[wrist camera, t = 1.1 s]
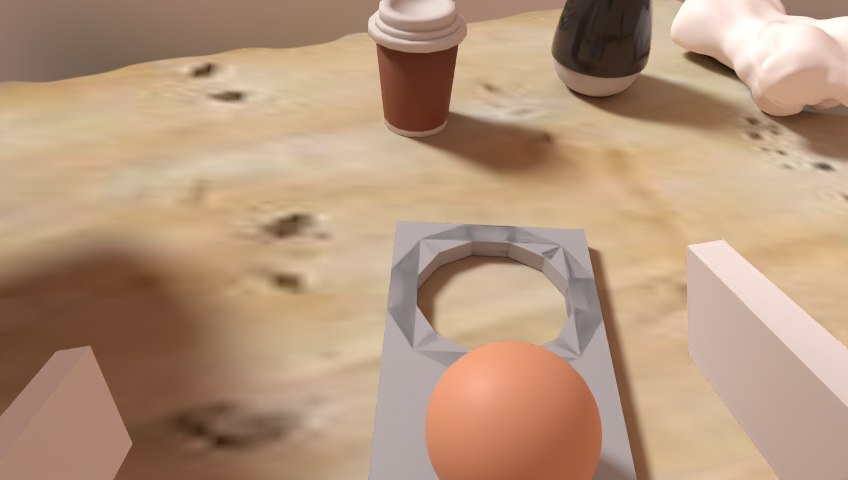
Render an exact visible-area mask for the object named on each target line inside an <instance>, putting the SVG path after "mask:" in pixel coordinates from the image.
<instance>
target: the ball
mask: <svg viewBox="0 0 848 480" xmlns="http://www.w3.org/2000/svg"><path fill="white" fill-rule="evenodd" d="M425 439H426V446H427V451H428V455H429V458H430V461H431V464H432V467H433V469H434V471H435V473H436V475H437V477H438V478H439V480H591V479H592V477H593V475H594V473H595V470H596V468H597V465H598V462H599V458H600V453H601V448H602V425H601V418H600V414H599V410H598V406H597V403H596V401H595V399H594V396H593V394H592V392H591V390H590V389H589V387H588V385H587V383H586V382H585V380H584V379H583V378H582V376H581V375H580V374H579V373H578V372H577V371H576V370H575V369H574V368H573V367H572V366H571V365H570V364H569V363H568V362H567V361H565V360H564V359H563V358H561V357H560V356H558V355H557V354H555V353H553V352H551V351H550V350H548V349H545V348H543V347H540V346H537V345H534V344H530V343H525V342H517V341H503V342H495V343H491V344H487V345H484V346H481V347H478V348H476V349H474V350H472V351H470V352H468V353H466V354H465V355H463V356H462V357H460V358H459V359H458V360H457V361H456V362H454V363H453V364H452V365H451V366H450V367H449V368H448V369H447V370H446V372H445V373H444V374H443V376H442V377H441V378H440V380H439V381H438V383H437V385H436V386H435V389H434V391H433V393H432V395H431V398H430V400H429V404H428V408H427V413H426V420H425Z"/></svg>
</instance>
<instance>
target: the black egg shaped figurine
mask: <svg viewBox="0 0 848 480" xmlns="http://www.w3.org/2000/svg"><path fill="white" fill-rule="evenodd" d="M652 27H653V0H567V1H566V4H565V6H564V8H563V11H562V13H561V16H560V19H559V22H558V25H557V28H556V31H555V34H554V38H553V43H552V49H551V51H552V55H553V57H554V64H555V68H556V71H557V73H558V75H559V77H560V79H561V80H562V81H563V83H565V84H566V85H567V86H568V87H569V88H571V89H572V90H574V91H576V92H578V93H581V94H584V95H588V96H597V97H601V96H610V95H614V94H617V93H619V92H621V91H623V90H625V89H626V88H628V87H629V86H630V85H631V84H632V83H633V82H634V81H635V80H636V78H637V77H638V76H639V74H640V72H641V71H642V70H643V69H644V68H645V67H646V65H647V62H648V59H649V54H650V48H651V39H652Z"/></svg>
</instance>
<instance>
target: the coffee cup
mask: <svg viewBox="0 0 848 480" xmlns="http://www.w3.org/2000/svg"><path fill="white" fill-rule="evenodd" d="M368 34H369V35H370V36H371V38H372V39H373V40H374V41H375V42H376V45H377V54H378V63H379V72H380V81H381V91H382V100H383V109H384V118H385V124H386V126H387V127H388V128H389V130H391V131H393V132H395V133H396V134H399V135H403V136H407V137H426V136H431V135H435V134H436V133H438V132H440V131H442V130H443V129H444V128H445V126H446V125H447V118H448V111H449V104H450V98H451V91H452V84H453V77H454V70H455V64H456V57H457V50H458V44H460V43H461V42H462V40H463V39H464V38H465V37H466V35H467V26H466V20H465V19H464V18H463V17H462V16H461V15H460V14H459V13H458V12H457V9H456V4H455V3H454V2H453V1H452V0H382V1H381V2H380V6H379V10H378V11H377V12H376V13H375V14H373V15H372V16H371V17H370V18H369V26H368Z"/></svg>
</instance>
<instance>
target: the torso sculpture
mask: <svg viewBox="0 0 848 480" xmlns="http://www.w3.org/2000/svg"><path fill="white" fill-rule="evenodd" d="M671 39H672V41H673V42H674V43H675V44H677V45H679V46H680V47H682V48H684V49H687V50H689V51H692V52H695V53H700V54H705V55H709V56H711V57H713V58H715V59H717V60H718V61H720V62H721V63H723V64H725V65H727V66H728V67H730V68H732V69H733V70H735V72H736V74H737V76H738V77H739V79H740V80H741V81H742V82H743V83H745V84H746V85H747V86H748V87H749V88H750V89H751V92H752V95H753V99H754V101H755V103H756V104H757V106H758V107H759V108H760V109H761V110H763V111H764V112H766V113H767V114H770V115H773V116H789V115H793V114H796V113H799V112H801V111H802V110H803V108H804V106H805V105H809V106H810V107H811V108H813V109H815V110H824V109H828V108H831V107H835V106H837V105H839V104H843V105H845V106H846V107H848V16H847V17H838V18H833V19H827V20H815V19H813V18H810V17H803V16H788V15H787V14H786V11H785V9H784V6H783V4H782V3H781V1H780V0H686V1H685V2H684V4H683V5H682V7H681V8H680V10H679V12H678V14H677V16H676V18H675V20H674V21H673V24H672V27H671Z"/></svg>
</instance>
